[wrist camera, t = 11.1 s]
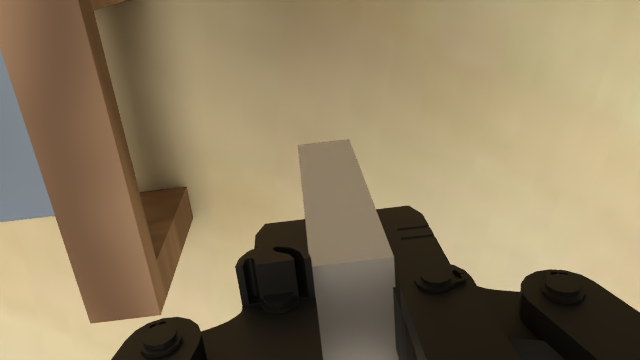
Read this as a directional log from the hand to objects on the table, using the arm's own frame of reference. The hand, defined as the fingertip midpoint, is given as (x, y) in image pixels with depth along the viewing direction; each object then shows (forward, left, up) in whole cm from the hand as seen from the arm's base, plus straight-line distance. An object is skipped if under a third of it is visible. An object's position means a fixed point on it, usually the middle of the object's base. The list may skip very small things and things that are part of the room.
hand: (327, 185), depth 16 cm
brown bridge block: (+9, 0, -14) cm, 17 cm away
